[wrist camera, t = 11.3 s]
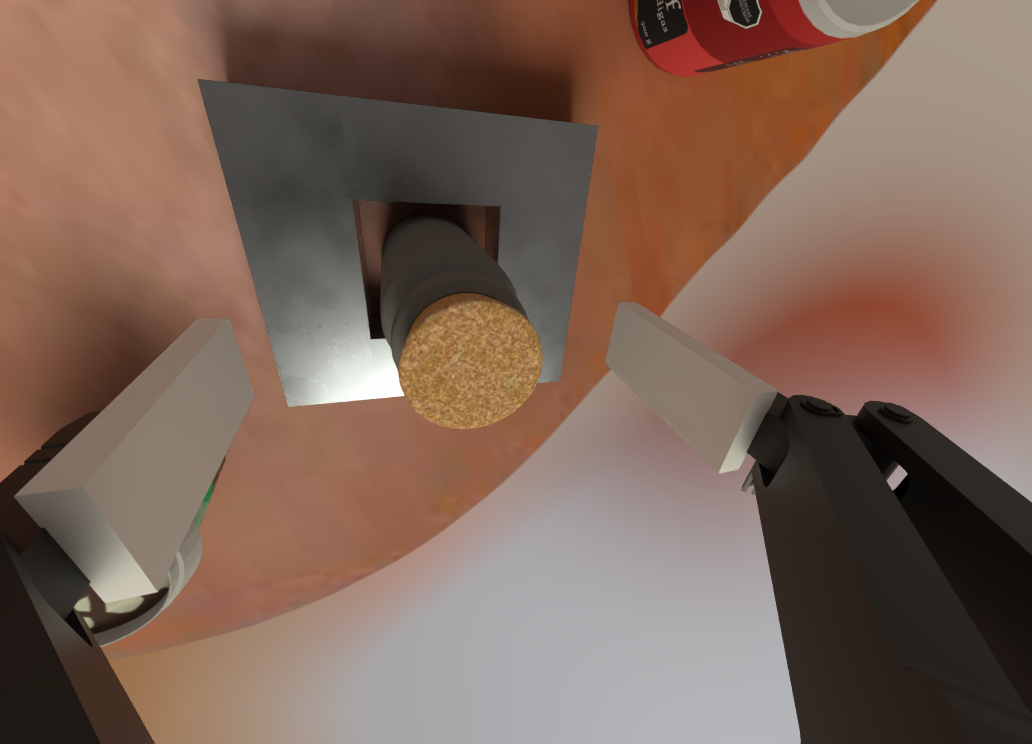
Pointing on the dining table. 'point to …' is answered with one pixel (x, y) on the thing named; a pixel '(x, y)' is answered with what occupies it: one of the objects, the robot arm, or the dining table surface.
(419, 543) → the dining table surface
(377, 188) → the plate
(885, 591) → the robot arm
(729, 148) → the dining table surface
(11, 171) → the dining table surface
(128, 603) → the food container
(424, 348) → the bottle
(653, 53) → the canned food
